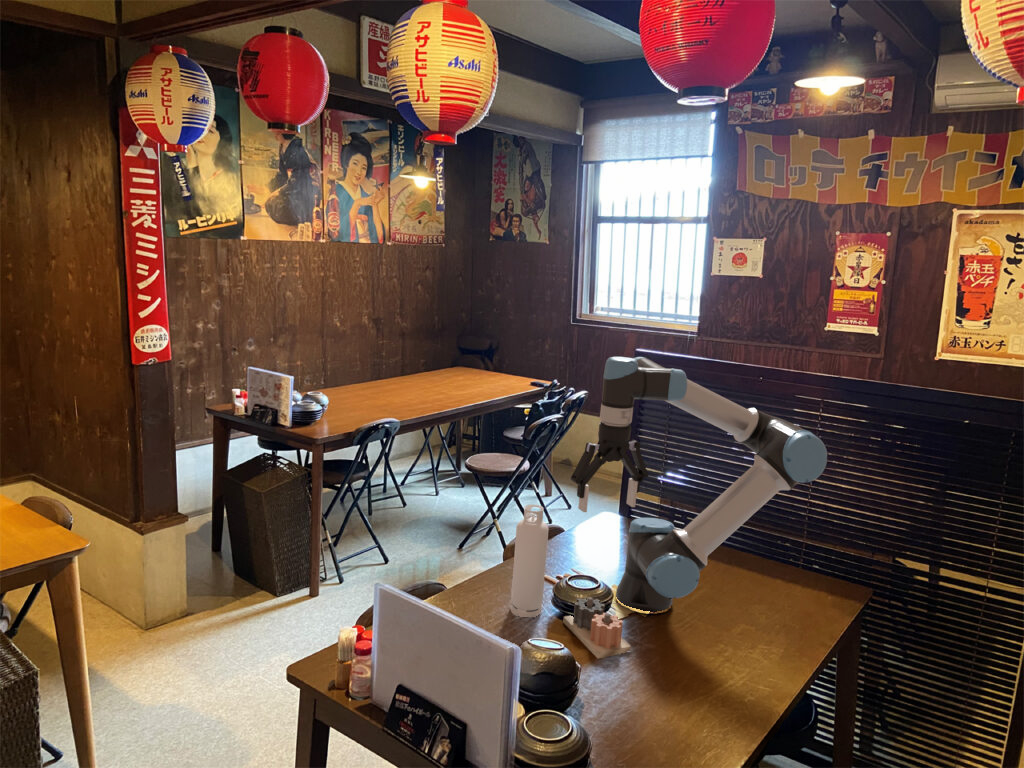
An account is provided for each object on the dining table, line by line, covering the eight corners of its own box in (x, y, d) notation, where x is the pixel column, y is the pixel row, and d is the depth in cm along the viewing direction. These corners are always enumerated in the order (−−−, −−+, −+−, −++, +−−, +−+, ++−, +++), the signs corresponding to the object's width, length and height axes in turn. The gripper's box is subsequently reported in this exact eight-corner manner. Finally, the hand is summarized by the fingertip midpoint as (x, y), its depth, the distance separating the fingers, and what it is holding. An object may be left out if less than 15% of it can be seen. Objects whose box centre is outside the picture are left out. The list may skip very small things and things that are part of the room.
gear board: (594, 616, 189) (596, 588, 188) (630, 652, 174) (633, 621, 173) (563, 622, 186) (565, 592, 184) (597, 658, 170) (600, 627, 169)
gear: (610, 629, 181) (612, 611, 180) (626, 645, 174) (628, 625, 173) (584, 634, 178) (586, 615, 177) (600, 650, 171) (602, 630, 170)
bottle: (545, 606, 193) (554, 505, 187) (536, 621, 185) (544, 516, 180) (516, 599, 195) (523, 500, 190) (506, 613, 188) (513, 510, 182)
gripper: (577, 429, 165) (569, 518, 169) (668, 424, 175) (658, 508, 180) (561, 420, 172) (554, 506, 176) (650, 416, 182) (641, 498, 186)
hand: (606, 507), depth 178 cm, fingers open, 13 cm apart
